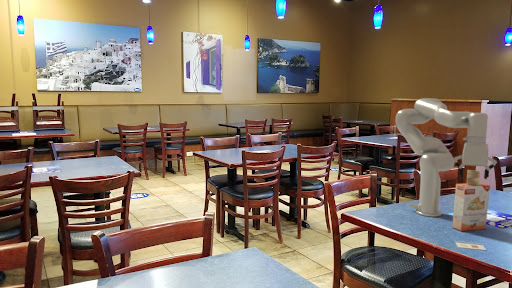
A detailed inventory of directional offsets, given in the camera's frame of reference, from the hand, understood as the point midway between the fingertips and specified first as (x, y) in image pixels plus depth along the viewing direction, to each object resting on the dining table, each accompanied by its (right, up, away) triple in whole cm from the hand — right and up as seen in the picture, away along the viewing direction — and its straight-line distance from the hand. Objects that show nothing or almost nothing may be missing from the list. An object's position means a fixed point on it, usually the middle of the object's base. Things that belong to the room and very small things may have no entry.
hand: (473, 177), depth 175 cm
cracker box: (0, -24, +3) cm, 24 cm away
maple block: (0, -3, 0) cm, 3 cm away
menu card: (-12, -26, -18) cm, 34 cm away
